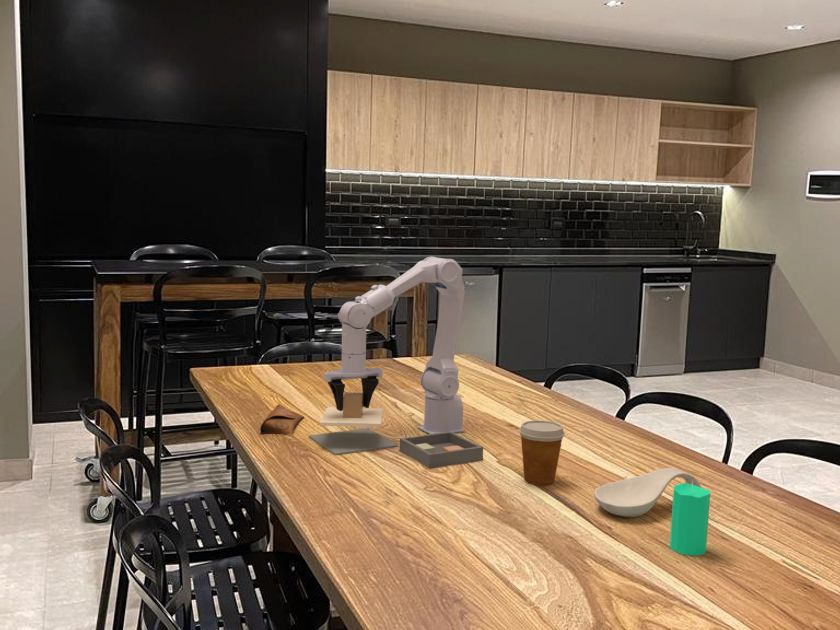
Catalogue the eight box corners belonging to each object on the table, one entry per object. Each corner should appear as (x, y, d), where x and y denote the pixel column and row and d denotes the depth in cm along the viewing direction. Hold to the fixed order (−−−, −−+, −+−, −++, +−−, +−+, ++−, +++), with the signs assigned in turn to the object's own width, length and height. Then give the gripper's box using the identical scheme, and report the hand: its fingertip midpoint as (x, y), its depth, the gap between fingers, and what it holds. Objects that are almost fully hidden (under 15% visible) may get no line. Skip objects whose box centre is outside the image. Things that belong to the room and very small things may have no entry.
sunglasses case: (294, 435, 204) (280, 412, 203) (269, 448, 205) (256, 425, 204) (305, 416, 222) (293, 395, 221) (282, 428, 223) (270, 407, 222)
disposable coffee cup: (565, 477, 179) (568, 422, 177) (557, 491, 170) (560, 434, 168) (521, 471, 182) (524, 417, 180) (512, 484, 173) (514, 428, 171)
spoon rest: (619, 528, 152) (621, 490, 151) (580, 506, 162) (582, 470, 161) (716, 510, 162) (719, 475, 161) (674, 491, 172) (677, 457, 172)
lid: (383, 411, 206) (383, 388, 205) (380, 427, 192) (381, 402, 192) (326, 410, 206) (327, 387, 205) (320, 425, 192) (320, 401, 191)
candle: (664, 541, 146) (668, 475, 144) (697, 541, 146) (702, 475, 145) (677, 555, 140) (682, 487, 138) (712, 555, 140) (717, 487, 139)
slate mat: (367, 429, 211) (367, 428, 211) (397, 446, 197) (397, 445, 197) (308, 437, 203) (308, 435, 203) (335, 455, 189) (335, 453, 189)
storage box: (450, 443, 201) (451, 431, 201) (482, 459, 189) (483, 447, 188) (399, 450, 194) (399, 438, 194) (429, 468, 182) (429, 454, 182)
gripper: (373, 347, 204) (372, 401, 206) (318, 351, 197) (318, 407, 199) (386, 352, 198) (385, 408, 200) (330, 356, 191) (329, 414, 193)
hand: (352, 408), depth 199 cm, fingers closed on lid, 6 cm apart
